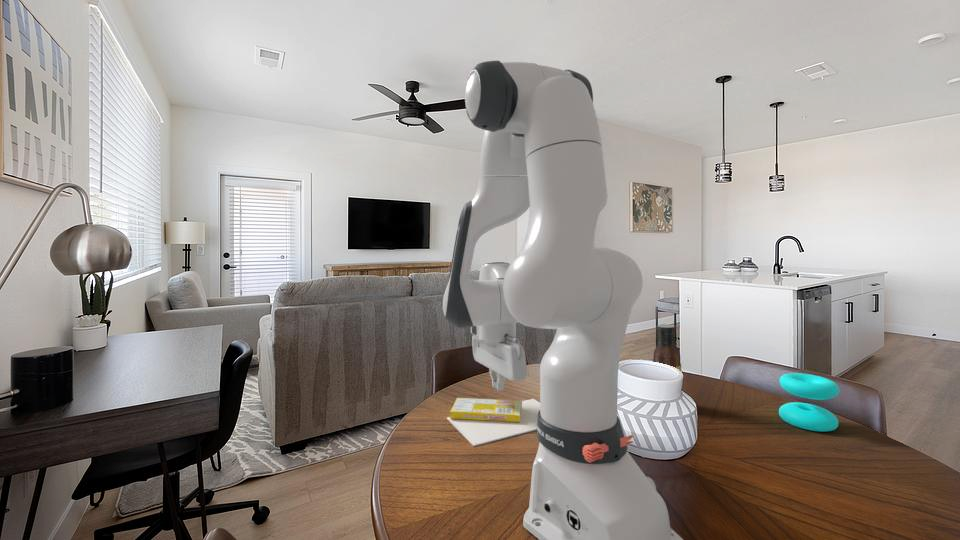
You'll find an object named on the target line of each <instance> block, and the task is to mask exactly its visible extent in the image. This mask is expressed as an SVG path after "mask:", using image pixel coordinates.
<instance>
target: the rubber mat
mask: <svg viewBox="0 0 960 540" xmlns="http://www.w3.org/2000/svg"><path fill="white" fill-rule="evenodd" d="M521 401H522V410H521V420H520V422H507V421H489V420H470V419H450V416H447V417H446V420H447V421H448V422H449V423H450V424H451V425H452V426H453V427H454V428H455V429H456V430H457V431H458V432H459V433H460V434H461V436H463V437H464V438H465V439H466V440H467V441H468V442H469V444H470V445H471V446H472V447H477V446H481V445H485V444H488V443H492V442H497V441H500V440H504V439H507V438H511V437H515V436H519V435H524V434H528V433H531V432H535V431H537V418H538V412H539V410H540V401H538V400H536V399H535V398H530V399H526V400H525V399H524V400H521Z"/></svg>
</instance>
